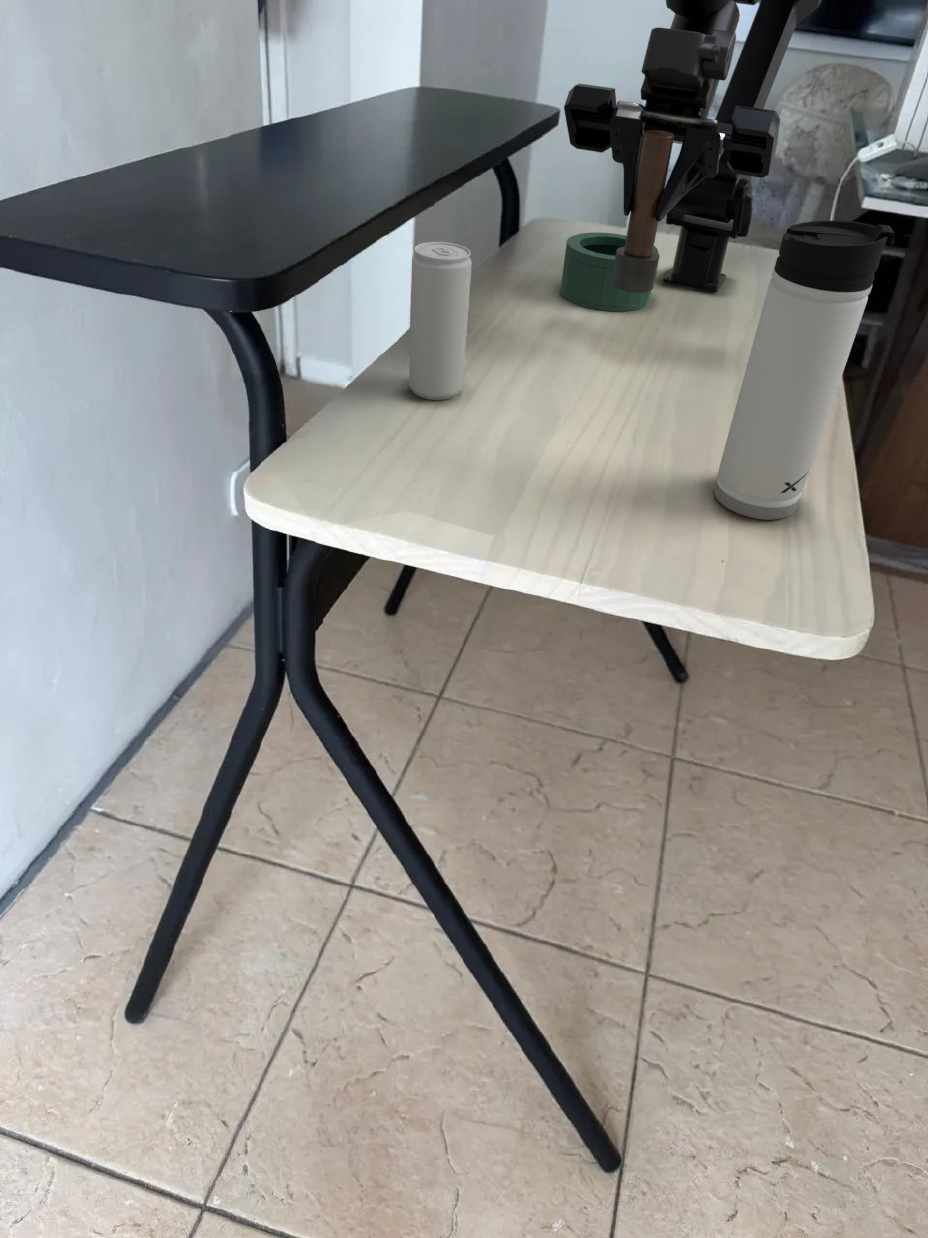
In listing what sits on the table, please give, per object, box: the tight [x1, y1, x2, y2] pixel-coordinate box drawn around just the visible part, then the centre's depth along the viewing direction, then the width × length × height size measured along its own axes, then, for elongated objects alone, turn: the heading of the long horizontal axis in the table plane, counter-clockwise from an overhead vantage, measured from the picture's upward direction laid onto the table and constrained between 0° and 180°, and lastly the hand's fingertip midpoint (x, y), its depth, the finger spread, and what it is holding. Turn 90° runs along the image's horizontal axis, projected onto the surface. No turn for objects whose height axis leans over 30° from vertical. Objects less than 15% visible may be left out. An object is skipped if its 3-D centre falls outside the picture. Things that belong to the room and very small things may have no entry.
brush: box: [611, 130, 674, 293], centre depth 83 cm, size 4×4×13 cm
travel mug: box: [712, 220, 896, 521], centre depth 64 cm, size 6×7×20 cm
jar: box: [560, 232, 659, 312], centre depth 103 cm, size 10×10×6 cm
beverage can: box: [408, 241, 473, 401], centre depth 78 cm, size 5×5×12 cm
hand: (641, 215), depth 82 cm, fingers closed on brush, 2 cm apart
